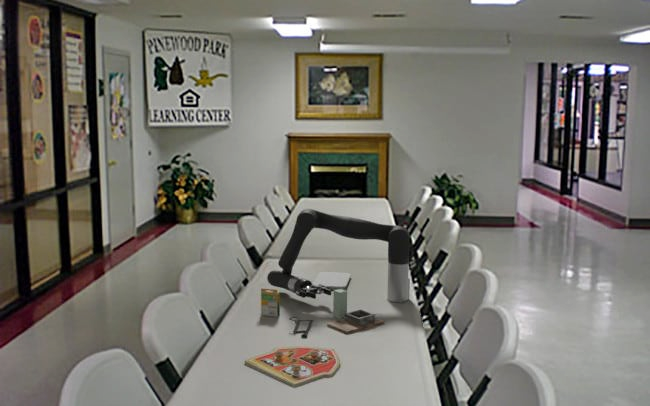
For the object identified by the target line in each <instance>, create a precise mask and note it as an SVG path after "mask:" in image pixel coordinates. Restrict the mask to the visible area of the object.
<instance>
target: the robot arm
mask: <svg viewBox="0 0 650 406" xmlns="http://www.w3.org/2000/svg"><path fill="white" fill-rule="evenodd" d="M313 229H320V230H321V229H322V230H326V231H330V232H332V233H334V234H336V235H339V236H342V237H344V238H349V239H353V240H364V241H365V240H369V241H370V240H376V241H383V242H387V244H388V245H387V246H388V247H387V251H388V252H387V259H388V260H387V292H386V293H387V295H386V296H387V298H386V299H387V300H388V302H393V303H404V302H407V301H408V300H410V288H411V287H410V286H411V285H410V284H411V283H410V281H411V278H409V270H410V269H409V267H410V265H409V263H410V236H411V235H410V232H409V230H408V228H406V227H404V226H402V225H393V224H392V225H390V224H382V223H378V222H373V221H370V220H365V219H361V218H356V217H350V216H343V215H337V214H330V213H325V212H322V211H319V210H316V209H312V208H305V209H303V210H301V211H300V213H298V214H297V217H296V220H295V224H294V228H293V231H292V234H291V236H290V239H289V240H288V242H287V245H286V246H285V248H284V250H283V251H282V254H281V255H280V258H279V259H278V262H277V263H278V266H279V267H280V268H281V269H282V270H281V271H280V270H276V269H275V270H271V271H269V273H268V274H267V277H266V280H267V283H268V284H270V286H272V287H277V288H281V289H285V290H286V291H289V292H291V293H293V294H295V295H296V296H297V297H300V298H303V299H304V298H310V299H312V300H313V299H314V300H315V299H316V298H317V295H321V294H325V295H327V296H331V295H332V290H329V287H328V286H325V285H322V284H319V286H315V285H313V283H312V281H311V280H309V279H306V278H303V277H300V276H295V275H294V274H293V275H292V273H293V267H294V266H295V263H296V261H297V260H298V257H299V255H300V253H301V252H300V251H301V249H302V247H303V244H304V243H305V240H306V239H307V237H308V236H309V234H310V233H311V232H312V231H313Z"/></svg>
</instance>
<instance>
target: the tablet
mask: <svg viewBox="0 0 650 406" xmlns="http://www.w3.org/2000/svg"><path fill="white" fill-rule="evenodd" d="M351 276H352V274H351V273H349V272H337V271H335V272H331V271H321V272H318V274H317V276H316V277H315V280H313V283H312V284H313V285H315V286H319V284H322V285H325V286H328V287H329V290H331V291H334V290H338V289H343V290H345V289H346V287H347V286H348V284H349V282H350V279H351Z"/></svg>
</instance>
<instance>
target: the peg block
mask: <svg viewBox="0 0 650 406" xmlns="http://www.w3.org/2000/svg"><path fill="white" fill-rule="evenodd" d="M332 301H333V303H332V304H333V306H332V307H333V315H332V316H333V317H334V318H338V319H342V318H343V319H344V318H345V313H348V290H345V289H344V290H343V289H338V290H333V300H332Z"/></svg>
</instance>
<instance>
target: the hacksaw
mask: <svg viewBox="0 0 650 406" xmlns="http://www.w3.org/2000/svg"><path fill="white" fill-rule="evenodd" d="M292 318H296V320H295V319H292ZM288 320H290V321H294V322H295V323H294V324H296V325H295V327H294V330H293V331H289V335H296V334H297V333H302V334H301V336H300V337H301V338H303V339H306V338H308V334H309V331H310V330H311V327H312V324H313V322H314V321H315V320H314V319H305V320H304V319H303V320H302V319H299V318H298V317H297V316H291V317H289V318H288ZM300 322H309V323H308V326H307V327H306V330H298V329H299V326H300ZM291 332H292V333H291Z"/></svg>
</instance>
